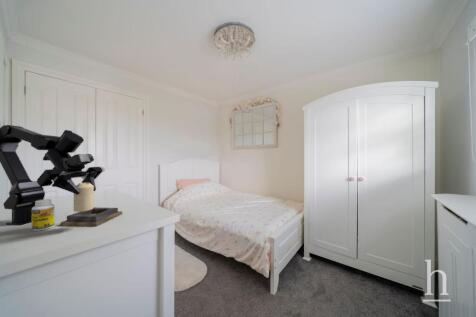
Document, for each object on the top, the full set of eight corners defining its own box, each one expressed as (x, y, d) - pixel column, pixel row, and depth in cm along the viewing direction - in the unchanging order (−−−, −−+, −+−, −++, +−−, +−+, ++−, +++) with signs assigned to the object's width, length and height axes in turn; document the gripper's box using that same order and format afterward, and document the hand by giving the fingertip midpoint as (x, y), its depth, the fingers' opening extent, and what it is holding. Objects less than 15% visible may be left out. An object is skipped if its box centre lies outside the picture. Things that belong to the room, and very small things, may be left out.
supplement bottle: (27, 232, 60) (27, 203, 60) (37, 226, 65) (37, 199, 65) (49, 230, 62) (49, 201, 62) (57, 224, 67) (57, 198, 67)
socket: (60, 225, 66) (60, 217, 66) (92, 213, 80) (92, 206, 80) (96, 226, 66) (96, 217, 66) (122, 214, 80) (122, 207, 80)
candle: (83, 212, 62) (83, 184, 61) (69, 211, 62) (69, 183, 62) (97, 207, 67) (97, 182, 67) (84, 207, 68) (84, 181, 67)
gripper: (44, 144, 56) (72, 180, 54) (99, 147, 74) (121, 174, 73) (24, 168, 57) (51, 204, 55) (83, 165, 76) (105, 192, 74)
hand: (87, 192), depth 64 cm, fingers closed on candle, 5 cm apart
